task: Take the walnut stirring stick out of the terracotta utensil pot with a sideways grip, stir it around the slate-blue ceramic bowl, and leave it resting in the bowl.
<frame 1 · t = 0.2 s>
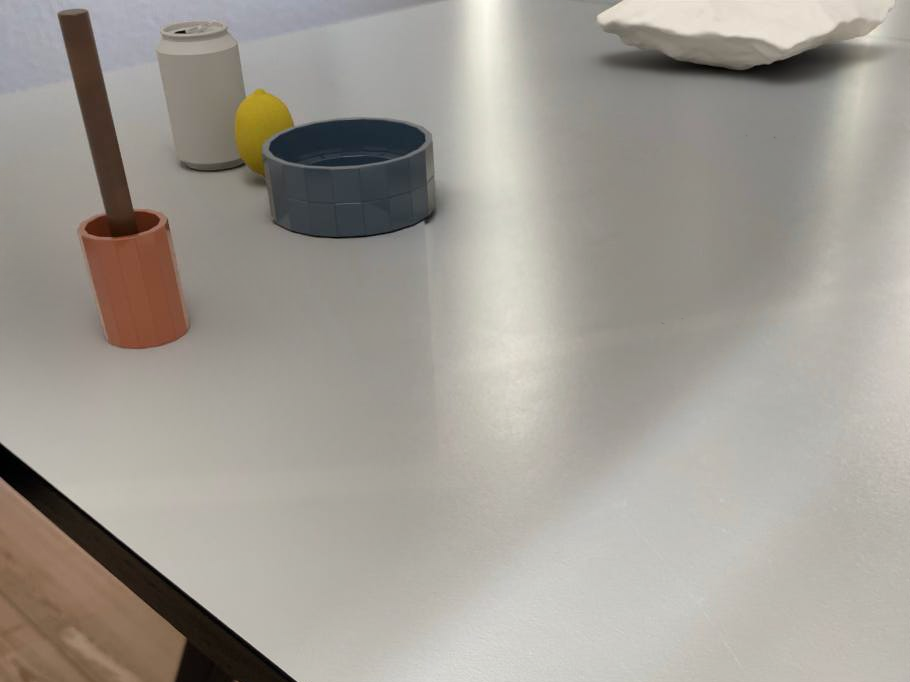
bowl: (354, 213, 97), on the table
stick: (147, 330, 79), resting on holder
lemon: (272, 183, 105), on the table
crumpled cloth: (745, 66, 132), on the table
holder: (149, 336, 79), on the table
can: (217, 163, 110), on the table
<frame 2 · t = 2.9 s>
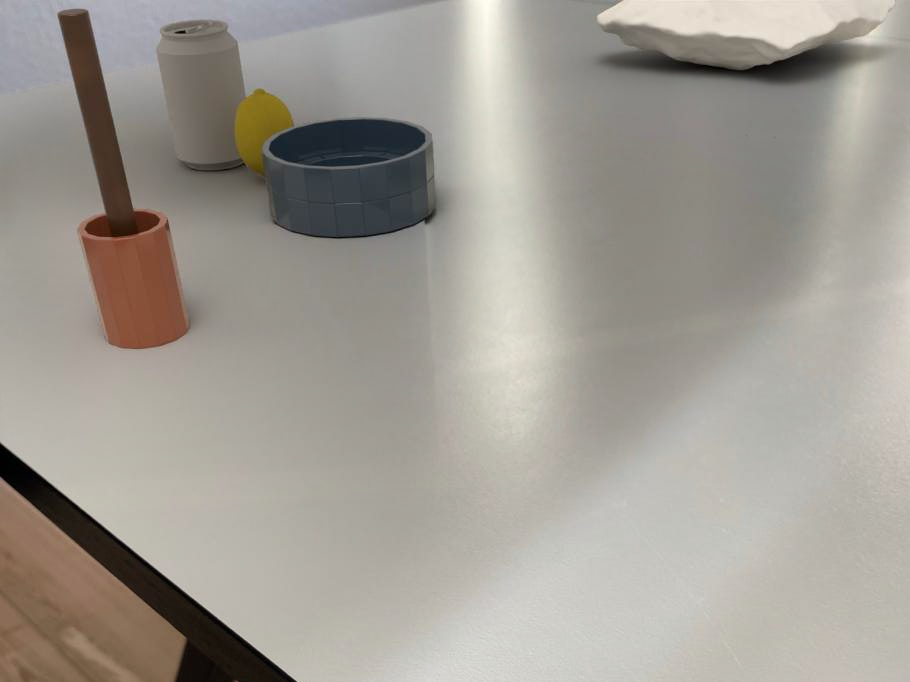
nothing on the table moved.
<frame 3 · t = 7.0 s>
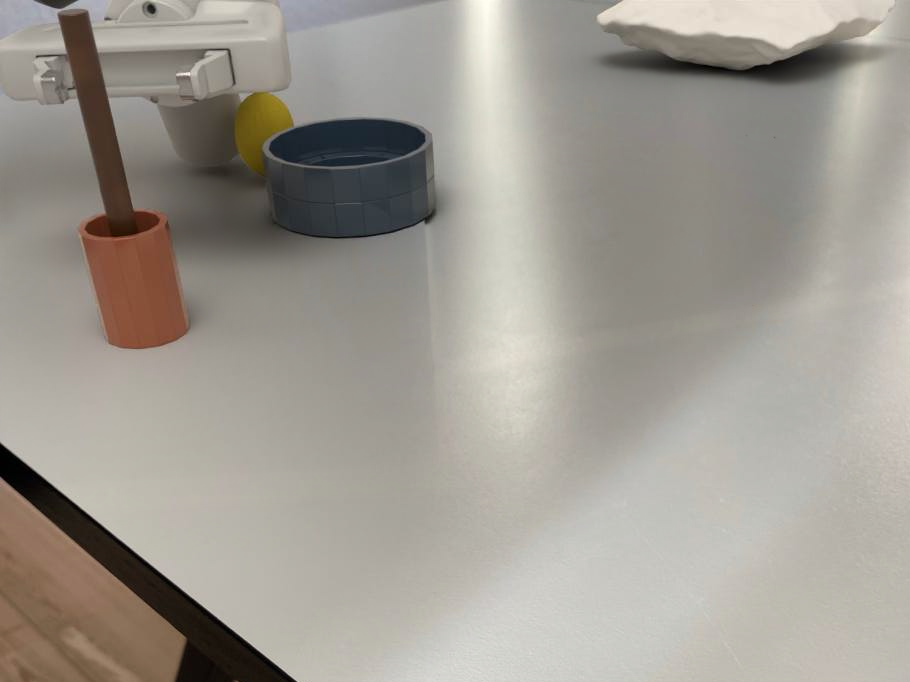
hand: (117, 89, 73), 15 cm above the table, tool horizontal, fingers open, 8 cm apart
can: (212, 142, 108), point 2 cm above the table, touching arm
everything else where it was.
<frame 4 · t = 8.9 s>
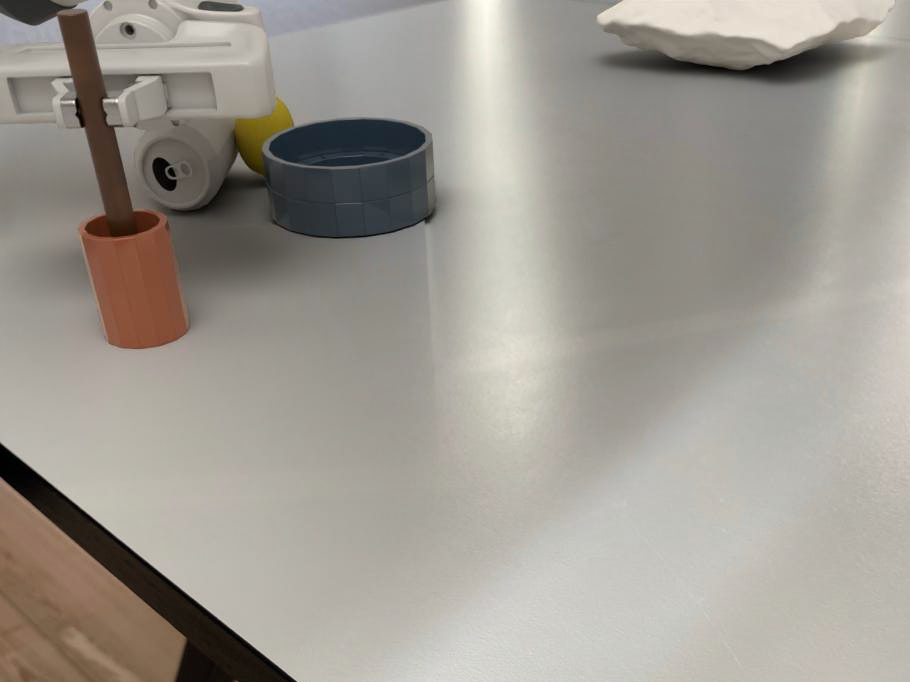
hand: (91, 114, 69), 15 cm above the table, tool horizontal, fingers closed on stick, 2 cm apart
stick: (147, 330, 79), point 1 cm above the table, touching gripper, holder
lemon: (272, 183, 105), on the table, touching can
can: (202, 131, 105), point 4 cm above the table, touching lemon
everything else where it was.
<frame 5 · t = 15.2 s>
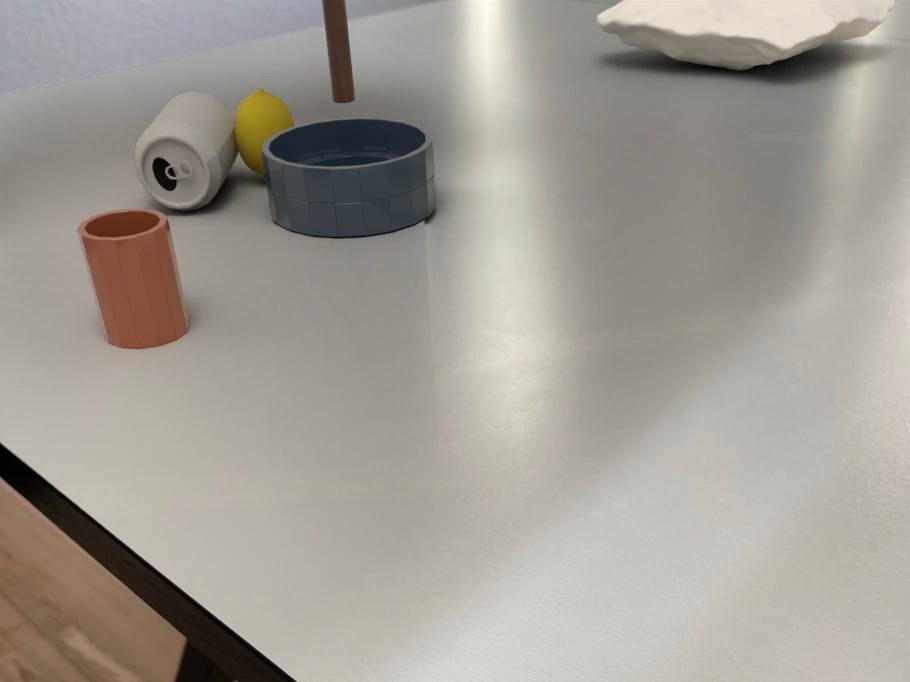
stick: (344, 100, 91), point 9 cm above the table, touching gripper
everything else where it was.
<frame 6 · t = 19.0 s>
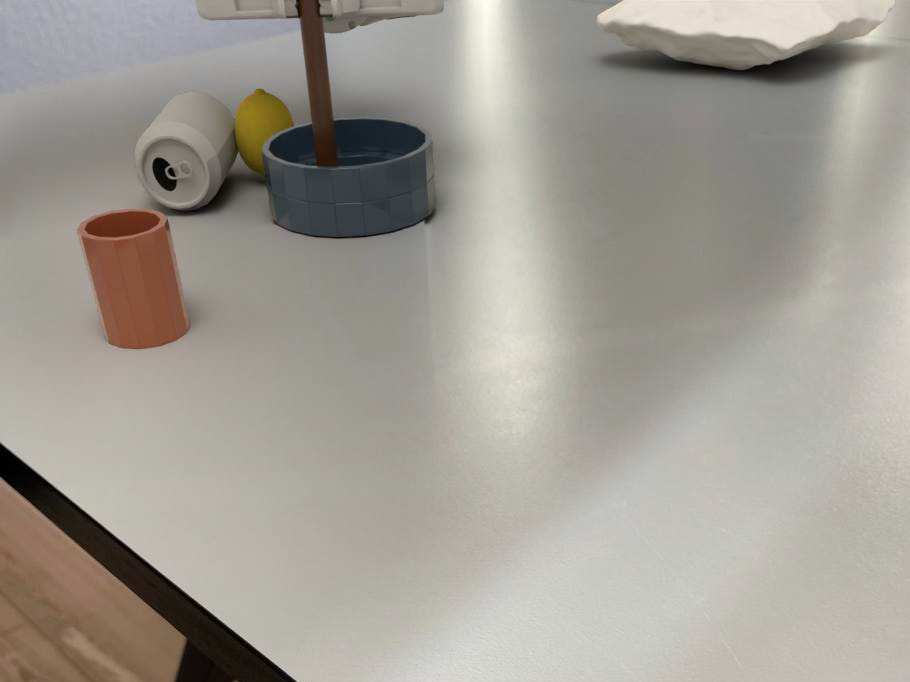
hand: (308, 5, 86), 16 cm above the table, tool horizontal, fingers closed on stick, 2 cm apart
stick: (331, 195, 96), point 2 cm above the table, touching gripper
everything else where it was.
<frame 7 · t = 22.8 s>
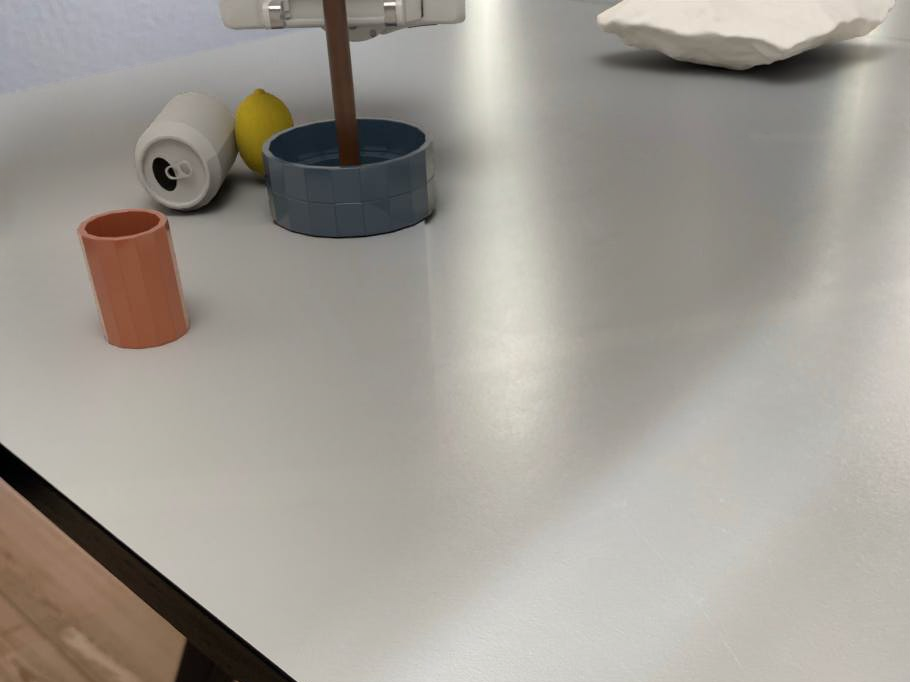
hand: (332, 16, 87), 16 cm above the table, tool horizontal, fingers open, 8 cm apart
stick: (354, 206, 97), point 1 cm above the table, touching bowl
everything else where it was.
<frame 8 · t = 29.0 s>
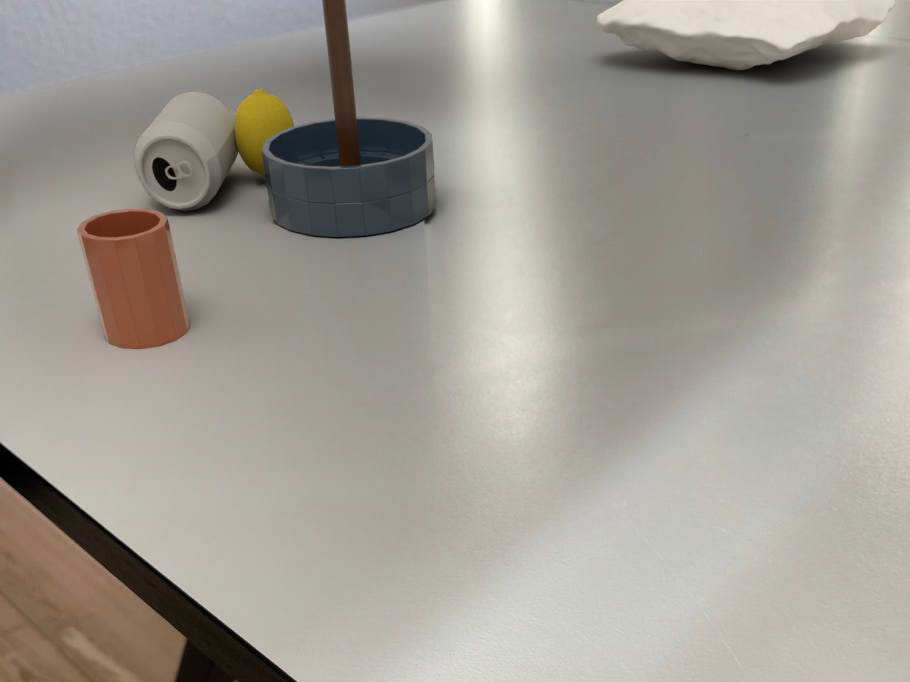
nothing on the table moved.
at the end: stick moved 27.0 cm from its start; stick inside the target area in the bowl (0.1 cm from its centre), point 0.6 cm above the bowl's base; the gripper is holding nothing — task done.
